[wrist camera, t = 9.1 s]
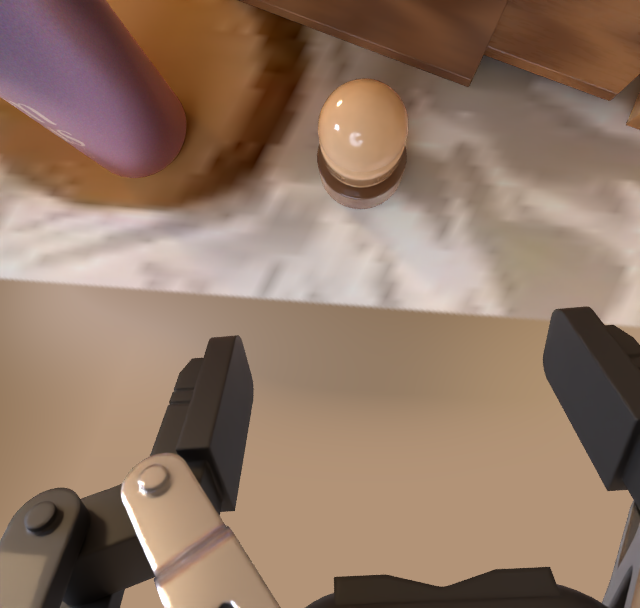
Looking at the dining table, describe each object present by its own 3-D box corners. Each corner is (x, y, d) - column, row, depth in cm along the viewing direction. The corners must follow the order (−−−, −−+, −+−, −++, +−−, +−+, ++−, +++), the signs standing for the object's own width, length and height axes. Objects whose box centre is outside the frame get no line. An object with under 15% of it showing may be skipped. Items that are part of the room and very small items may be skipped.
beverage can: (209, 115, 28) (45, -136, 13) (156, 199, 28) (-71, 42, 13) (128, 68, 29) (-116, -223, 14) (76, 151, 29) (-228, -53, 14)
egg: (306, 190, 27) (288, 136, 20) (339, 116, 28) (334, 35, 20) (383, 222, 27) (393, 179, 20) (416, 146, 27) (439, 75, 20)
